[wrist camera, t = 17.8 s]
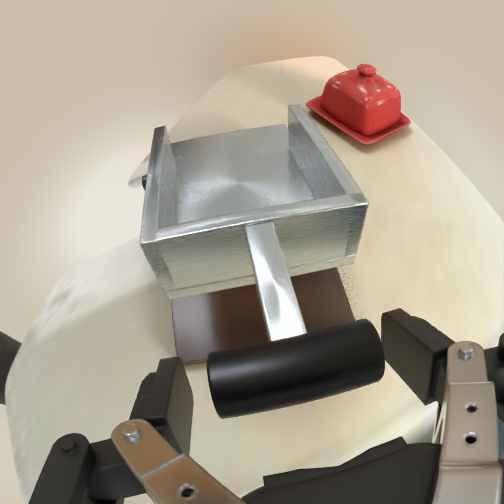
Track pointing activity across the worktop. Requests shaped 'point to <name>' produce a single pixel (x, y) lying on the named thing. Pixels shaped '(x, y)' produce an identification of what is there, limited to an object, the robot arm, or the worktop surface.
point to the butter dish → (361, 105)
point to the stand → (251, 314)
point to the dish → (261, 254)
